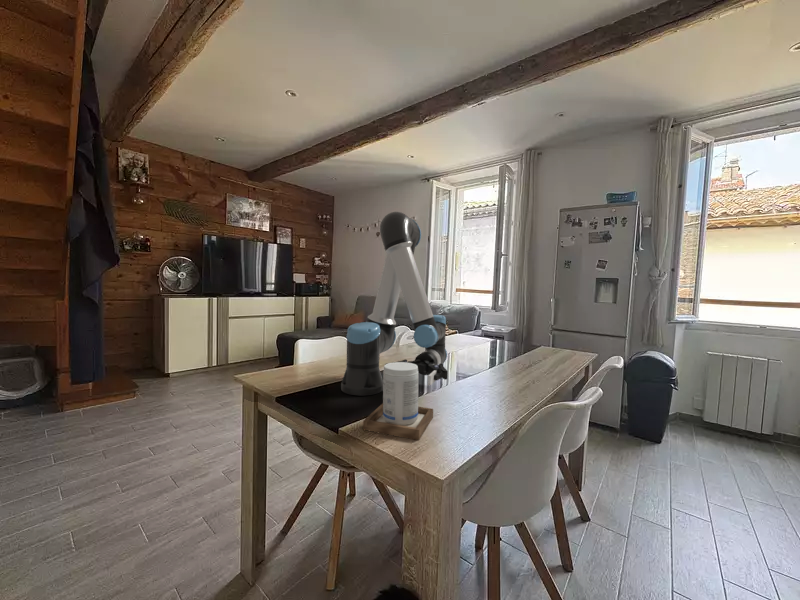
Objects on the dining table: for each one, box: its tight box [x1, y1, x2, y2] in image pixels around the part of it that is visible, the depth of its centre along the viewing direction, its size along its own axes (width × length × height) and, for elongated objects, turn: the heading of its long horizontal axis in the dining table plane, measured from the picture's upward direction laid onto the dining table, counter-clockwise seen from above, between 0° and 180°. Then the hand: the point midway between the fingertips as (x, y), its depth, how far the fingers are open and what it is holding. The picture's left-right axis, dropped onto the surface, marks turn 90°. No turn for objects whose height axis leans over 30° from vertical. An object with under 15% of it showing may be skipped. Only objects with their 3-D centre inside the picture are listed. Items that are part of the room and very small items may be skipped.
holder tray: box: [362, 403, 434, 441], centre depth 90 cm, size 15×15×2 cm
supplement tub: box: [382, 361, 419, 425], centre depth 90 cm, size 10×10×15 cm
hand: (406, 377), depth 95 cm, fingers open, 13 cm apart
